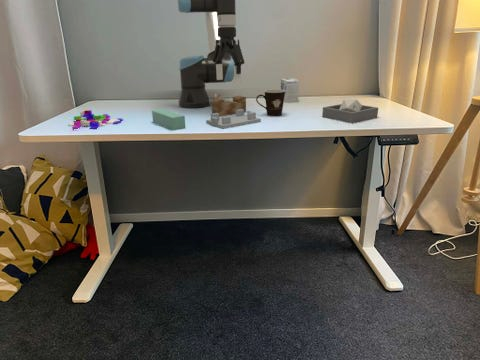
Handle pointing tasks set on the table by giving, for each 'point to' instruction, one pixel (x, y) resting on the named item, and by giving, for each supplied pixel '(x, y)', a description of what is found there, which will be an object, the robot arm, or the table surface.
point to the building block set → (88, 119)
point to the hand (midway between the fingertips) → (228, 81)
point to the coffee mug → (273, 102)
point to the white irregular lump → (350, 105)
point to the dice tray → (350, 114)
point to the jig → (233, 119)
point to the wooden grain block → (227, 105)
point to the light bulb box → (290, 89)
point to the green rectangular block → (168, 119)
